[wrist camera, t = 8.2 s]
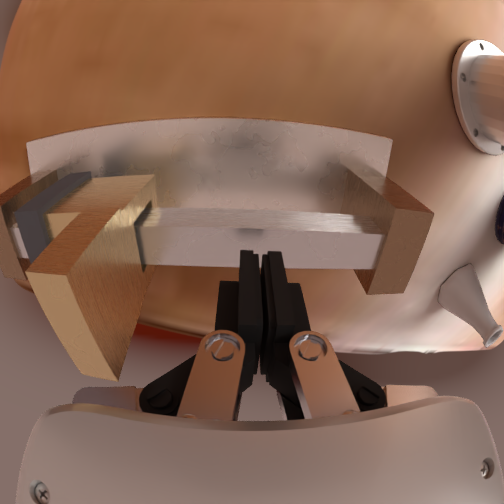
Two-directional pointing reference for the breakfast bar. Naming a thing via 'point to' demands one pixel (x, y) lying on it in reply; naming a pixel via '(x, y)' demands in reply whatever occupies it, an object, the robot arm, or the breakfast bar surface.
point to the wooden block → (95, 270)
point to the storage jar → (500, 222)
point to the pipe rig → (242, 195)
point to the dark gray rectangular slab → (33, 210)
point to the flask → (469, 303)
